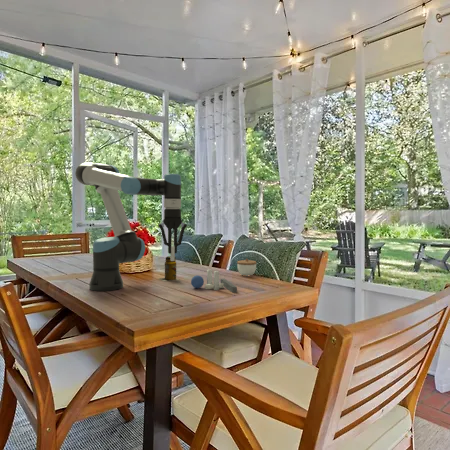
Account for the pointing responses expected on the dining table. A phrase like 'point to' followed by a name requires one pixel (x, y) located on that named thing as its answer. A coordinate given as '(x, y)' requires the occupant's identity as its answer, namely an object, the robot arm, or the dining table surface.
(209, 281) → the back pin left
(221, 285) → the front pin
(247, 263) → the lidded jar
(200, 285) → the ball
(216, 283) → the back pin right
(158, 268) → the dining table surface
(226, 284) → the stopper bar
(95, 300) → the dining table surface
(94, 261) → the robot arm
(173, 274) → the condiment
